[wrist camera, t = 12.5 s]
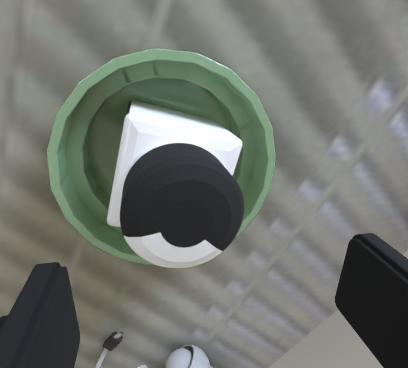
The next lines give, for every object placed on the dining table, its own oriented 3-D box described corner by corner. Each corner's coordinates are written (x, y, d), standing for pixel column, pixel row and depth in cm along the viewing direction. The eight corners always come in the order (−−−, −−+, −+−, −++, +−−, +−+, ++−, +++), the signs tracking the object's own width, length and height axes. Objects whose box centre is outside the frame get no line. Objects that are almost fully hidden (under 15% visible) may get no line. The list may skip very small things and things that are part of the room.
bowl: (281, 136, 26) (314, 153, 21) (176, 254, 29) (185, 293, 24) (145, 4, 20) (147, -15, 15) (28, 167, 23) (-2, 195, 18)
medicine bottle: (129, 98, 22) (120, 131, 11) (217, 120, 24) (281, 167, 13) (114, 184, 24) (94, 280, 13) (195, 197, 26) (234, 291, 15)
